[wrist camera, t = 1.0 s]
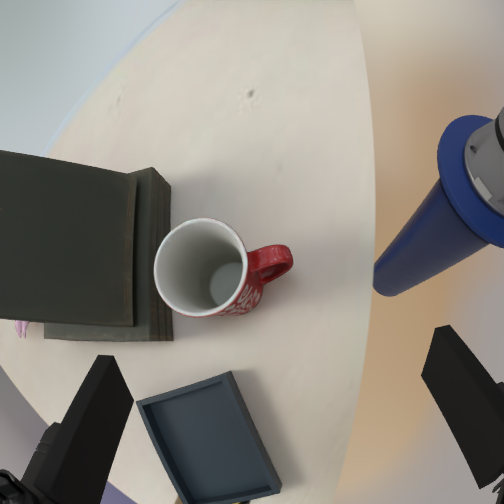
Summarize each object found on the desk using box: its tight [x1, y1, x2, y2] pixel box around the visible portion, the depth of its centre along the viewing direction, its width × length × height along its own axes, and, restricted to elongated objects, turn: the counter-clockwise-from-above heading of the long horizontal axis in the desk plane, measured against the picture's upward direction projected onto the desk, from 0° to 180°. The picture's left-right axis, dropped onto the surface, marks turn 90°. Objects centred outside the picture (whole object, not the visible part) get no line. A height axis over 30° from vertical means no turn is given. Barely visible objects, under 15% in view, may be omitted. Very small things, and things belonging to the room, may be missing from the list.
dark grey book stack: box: [0, 150, 173, 341], centre depth 32 cm, size 23×20×25 cm
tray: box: [136, 371, 282, 504], centre depth 34 cm, size 14×18×3 cm
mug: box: [154, 218, 293, 317], centre depth 33 cm, size 13×9×14 cm
